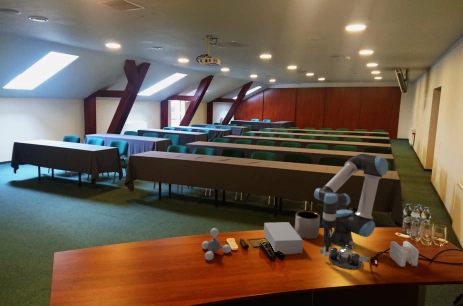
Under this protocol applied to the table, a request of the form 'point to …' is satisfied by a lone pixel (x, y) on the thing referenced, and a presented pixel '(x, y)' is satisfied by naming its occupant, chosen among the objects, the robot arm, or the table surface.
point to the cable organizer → (404, 253)
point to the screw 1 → (349, 245)
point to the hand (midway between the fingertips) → (326, 255)
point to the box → (283, 237)
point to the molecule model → (214, 245)
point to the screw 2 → (358, 259)
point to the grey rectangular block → (331, 253)
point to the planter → (307, 224)
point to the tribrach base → (344, 264)
